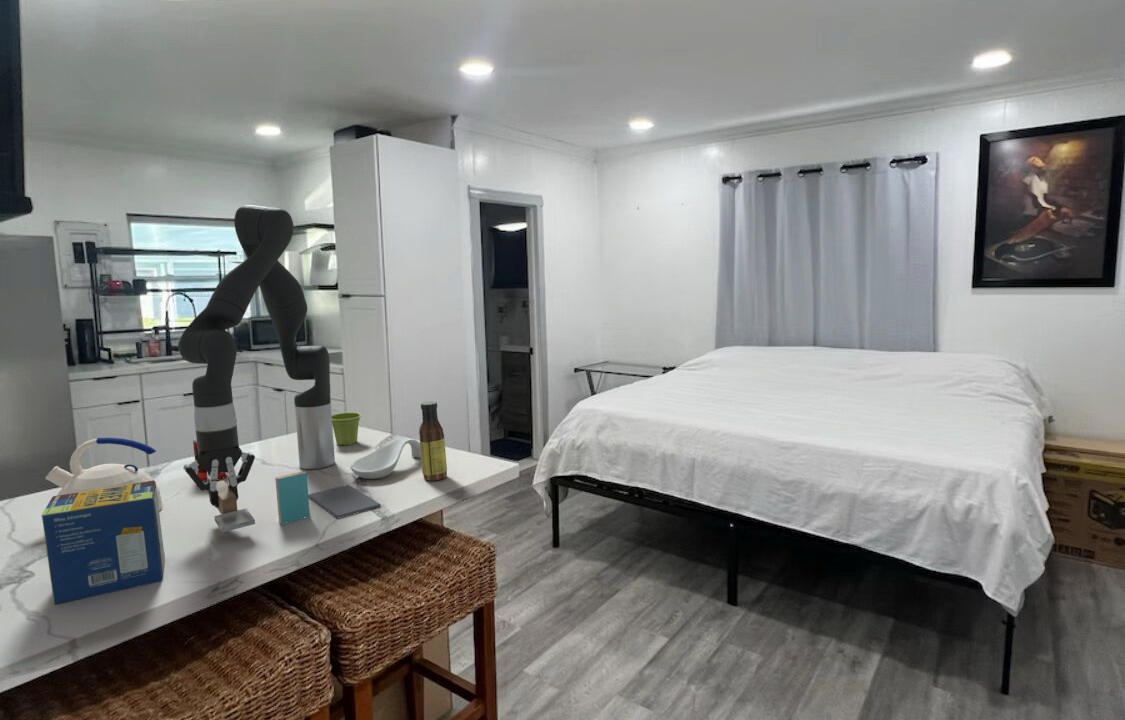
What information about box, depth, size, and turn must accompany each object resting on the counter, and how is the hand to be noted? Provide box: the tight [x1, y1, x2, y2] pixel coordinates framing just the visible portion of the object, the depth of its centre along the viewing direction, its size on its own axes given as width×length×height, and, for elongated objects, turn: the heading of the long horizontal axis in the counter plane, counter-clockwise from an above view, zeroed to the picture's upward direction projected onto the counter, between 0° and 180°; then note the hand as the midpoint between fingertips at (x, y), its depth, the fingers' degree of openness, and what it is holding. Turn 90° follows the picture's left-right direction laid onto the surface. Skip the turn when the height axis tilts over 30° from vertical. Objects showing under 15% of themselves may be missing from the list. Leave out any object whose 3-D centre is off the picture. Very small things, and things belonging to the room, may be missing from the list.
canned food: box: [192, 436, 227, 482], centre depth 165 cm, size 8×8×11 cm
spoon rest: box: [350, 437, 421, 480], centre depth 170 cm, size 24×12×7 cm, turn 154°
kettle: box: [45, 437, 164, 512], centre depth 139 cm, size 20×21×18 cm
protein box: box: [40, 479, 166, 605], centre depth 109 cm, size 10×15×16 cm
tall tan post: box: [214, 480, 256, 533], centre depth 131 cm, size 16×6×4 cm, turn 41°
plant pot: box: [332, 412, 362, 446], centre depth 196 cm, size 9×9×9 cm
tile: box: [274, 470, 311, 525], centre depth 136 cm, size 2×6×10 cm, turn 131°
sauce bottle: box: [418, 400, 448, 482], centre depth 161 cm, size 7×6×20 cm
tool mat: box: [308, 484, 381, 519], centre depth 146 cm, size 18×10×1 cm, turn 41°
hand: (224, 504), depth 133 cm, fingers closed on tall tan post, 2 cm apart
